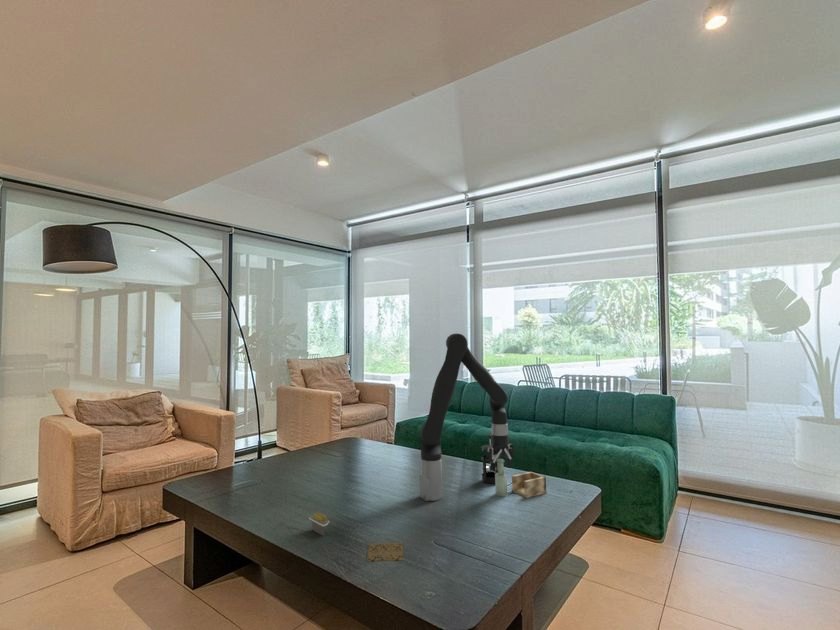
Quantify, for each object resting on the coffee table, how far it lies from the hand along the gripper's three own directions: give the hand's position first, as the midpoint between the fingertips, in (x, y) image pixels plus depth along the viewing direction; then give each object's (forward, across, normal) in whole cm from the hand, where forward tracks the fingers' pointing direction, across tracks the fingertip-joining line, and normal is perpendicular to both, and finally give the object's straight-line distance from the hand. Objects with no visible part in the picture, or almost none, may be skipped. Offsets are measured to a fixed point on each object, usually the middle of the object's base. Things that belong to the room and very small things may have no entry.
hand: (501, 469), depth 193 cm
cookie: (+12, -67, -21) cm, 71 cm away
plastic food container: (+11, -82, +5) cm, 83 cm away
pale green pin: (+11, 0, 0) cm, 11 cm away
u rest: (+12, +13, -4) cm, 18 cm away
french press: (+12, +7, +16) cm, 21 cm away
